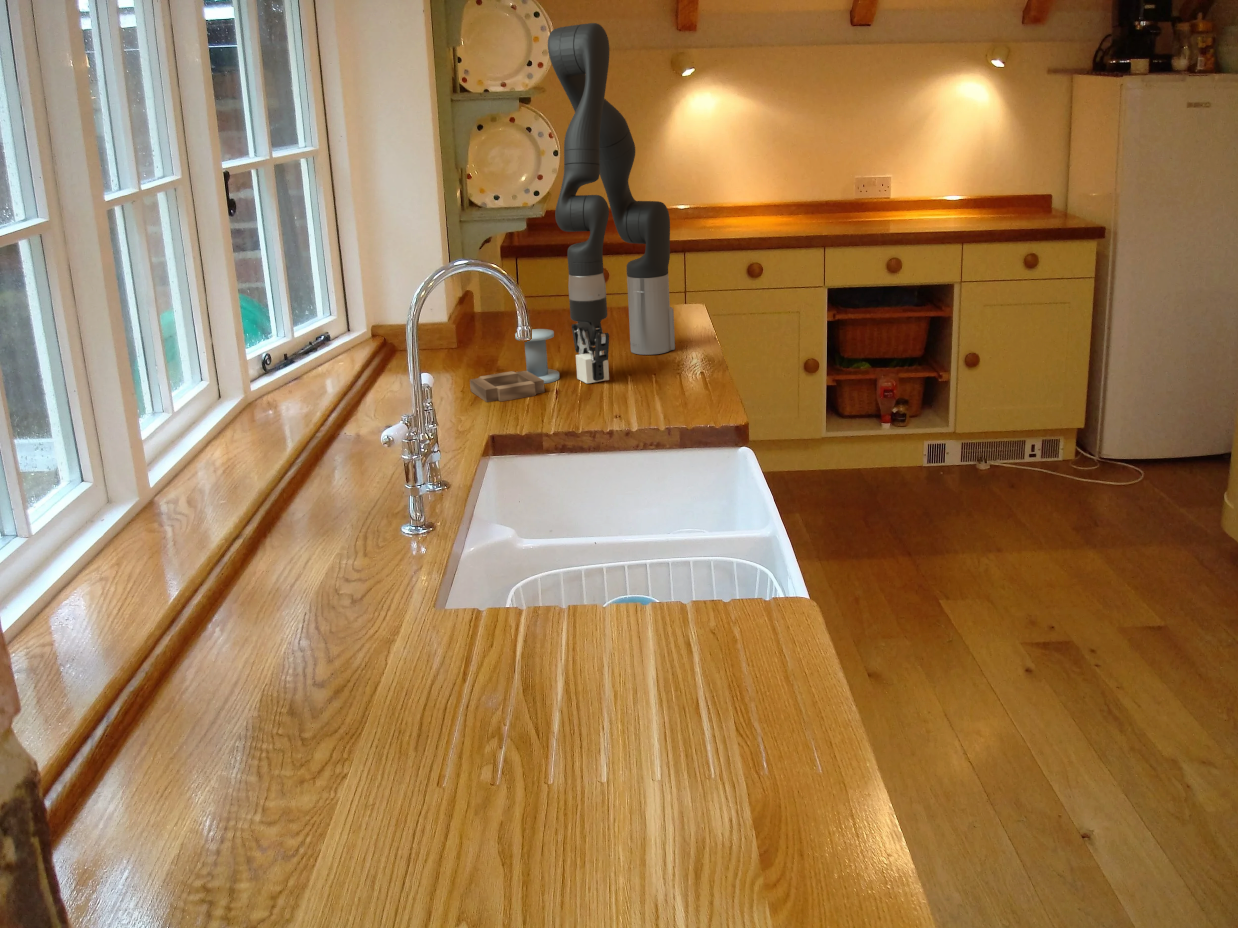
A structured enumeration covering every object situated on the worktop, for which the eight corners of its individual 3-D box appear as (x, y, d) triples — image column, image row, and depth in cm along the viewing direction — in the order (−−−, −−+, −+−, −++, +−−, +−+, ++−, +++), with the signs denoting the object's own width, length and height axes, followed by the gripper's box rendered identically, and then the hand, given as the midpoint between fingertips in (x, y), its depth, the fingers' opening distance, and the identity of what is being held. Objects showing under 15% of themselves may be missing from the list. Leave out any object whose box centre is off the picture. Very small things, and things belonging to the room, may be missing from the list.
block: (599, 374, 255) (597, 351, 253) (609, 379, 250) (607, 356, 249) (577, 378, 253) (575, 355, 251) (587, 383, 248) (585, 359, 247)
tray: (525, 381, 254) (524, 369, 253) (546, 393, 243) (545, 381, 242) (468, 390, 249) (467, 378, 248) (488, 403, 239) (487, 391, 238)
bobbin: (549, 371, 261) (546, 326, 257) (566, 380, 253) (562, 333, 250) (510, 378, 257) (506, 332, 254) (525, 386, 249) (521, 340, 246)
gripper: (619, 298, 241) (624, 381, 247) (590, 288, 254) (595, 367, 259) (584, 303, 238) (590, 387, 244) (556, 293, 251) (562, 373, 256)
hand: (592, 376), depth 251 cm, fingers closed on block, 5 cm apart
